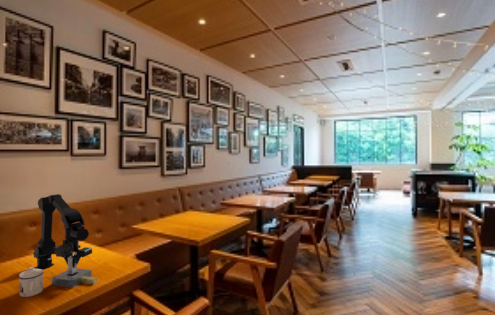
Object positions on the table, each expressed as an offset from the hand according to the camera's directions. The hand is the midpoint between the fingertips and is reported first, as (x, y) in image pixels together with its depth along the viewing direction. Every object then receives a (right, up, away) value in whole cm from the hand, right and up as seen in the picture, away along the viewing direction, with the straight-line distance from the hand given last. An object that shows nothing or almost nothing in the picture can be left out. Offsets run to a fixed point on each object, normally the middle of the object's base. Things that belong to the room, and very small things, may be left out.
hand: (72, 267), depth 144 cm
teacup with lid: (-11, -7, -13) cm, 18 cm away
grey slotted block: (+3, -7, 0) cm, 8 cm away
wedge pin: (0, -3, 0) cm, 3 cm away
